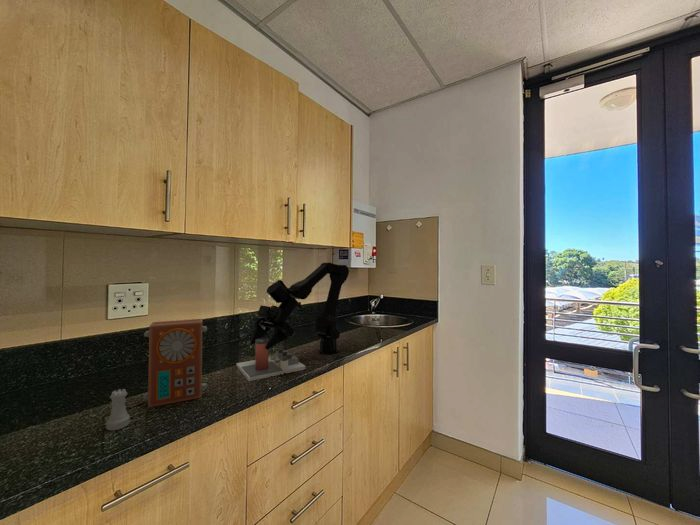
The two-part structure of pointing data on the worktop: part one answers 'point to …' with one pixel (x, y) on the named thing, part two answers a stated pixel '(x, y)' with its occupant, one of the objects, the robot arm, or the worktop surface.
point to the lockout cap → (261, 354)
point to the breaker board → (271, 366)
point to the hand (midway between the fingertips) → (258, 346)
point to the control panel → (175, 361)
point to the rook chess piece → (118, 411)
